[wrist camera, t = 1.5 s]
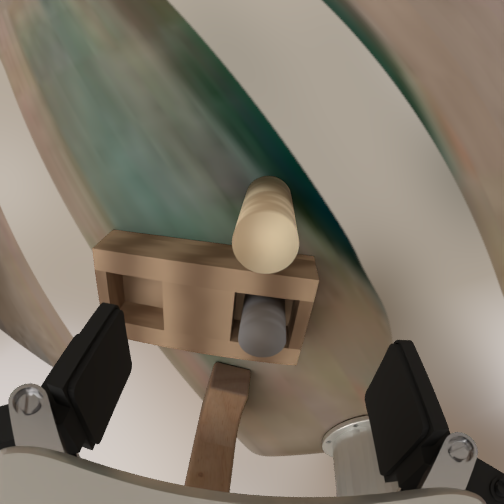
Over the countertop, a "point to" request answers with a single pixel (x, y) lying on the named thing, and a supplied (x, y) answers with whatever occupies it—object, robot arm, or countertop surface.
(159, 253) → the walnut socket block
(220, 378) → the wooden block
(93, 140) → the countertop surface
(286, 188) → the birch dowel
